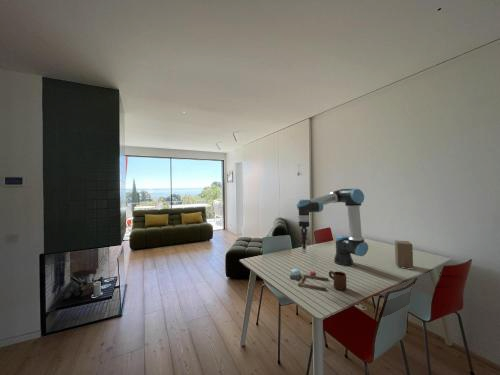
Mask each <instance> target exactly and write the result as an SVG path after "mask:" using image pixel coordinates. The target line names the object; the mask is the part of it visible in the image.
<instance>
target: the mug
mask: <svg viewBox="0 0 500 375" xmlns="http://www.w3.org/2000/svg"><path fill="white" fill-rule="evenodd" d="M328 276H329V279H332V280H333V288H334V289H335V290H336V291H341V292H342V291H346V290H347V274H346V273H345V272H342V271H333V270H329V272H328Z"/></svg>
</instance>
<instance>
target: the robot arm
mask: <svg viewBox="0 0 500 375" xmlns="http://www.w3.org/2000/svg"><path fill="white" fill-rule="evenodd" d="M364 200H365V195H364V193H363V191H362V190H361V189H360V188H341V189H337V190H334V191H331V192H329V194H325V195H322V196H318V197H313V198H310V199H299V200H298V202H297V203H296V207H297V208H296V209H297V210H298V216H297V217H298V226H299V228H301V229H300V230H301V242H300V244H301V251H302V252H301V253H302V254H307V244H308V243H307V240H308V237H307V234H308V228H309V227H310V220H311V219H310V217H311V216H310V213H321V212H322V211H323V210H324V206H325V205H329V204H332V203H333V204H337V203H344V204H345V206H346V207H347V216H348V228H349V235H338V236H336V237H335V255H334V257H333V262H334V263H335V264H337V265H340V266H352V265H354V260H353V258H352V255H351V254H353V255H355V256H357V257H358V256H359V257H364V256H366V255H367V253H368V250H369V245H368V243H367V242H366V241H365V238H364V237H363V236H362V225H361V224H362V223H361V212H360V209H361V208H360V207H361V206H362V203H364Z"/></svg>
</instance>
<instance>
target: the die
mask: <svg viewBox="0 0 500 375" xmlns="http://www.w3.org/2000/svg"><path fill="white" fill-rule="evenodd" d="M309 275H312V276H317V272H316V271H315V270H309Z"/></svg>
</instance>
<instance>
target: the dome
mask: <svg viewBox="0 0 500 375" xmlns="http://www.w3.org/2000/svg"><path fill="white" fill-rule="evenodd" d="M291 273H292V275H293V276H300V273H301V270H300V269H298V268H293V269H292V268H291Z"/></svg>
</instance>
